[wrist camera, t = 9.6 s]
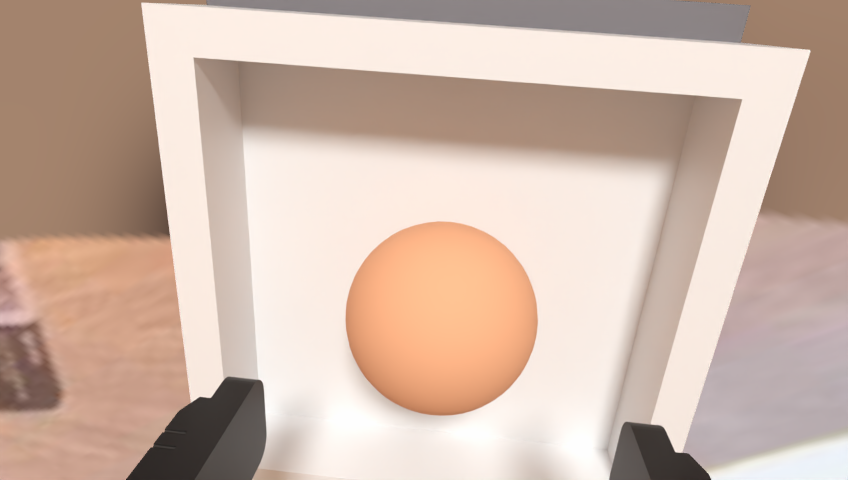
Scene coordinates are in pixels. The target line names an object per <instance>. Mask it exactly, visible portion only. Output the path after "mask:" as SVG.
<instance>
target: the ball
mask: <svg viewBox="0 0 848 480" xmlns="http://www.w3.org/2000/svg"><path fill="white" fill-rule="evenodd" d="M345 321H346V332H347V337H348V341H349V346H350V349H351V352H352V355H353V357H354V359H355V361H356V363H357V365H358V367H359V368H360V370H361V372H362V373H363V375H364V376H365V378H366V379H367V380H368V381H369V382H370V383H371V384H372V386H373V387H374V388H375V389H376V390H377V391H379V392H380V393H381V394H382V395H383V396H385V397H386V398H387V399H389V400H390V401H392V402H393V403H395V404H397V405H399V406H401V407H403V408H406V409H409V410H411V411H415V412H418V413H422V414H428V415H439V416H445V415H457V414H463V413H466V412H470V411H473V410H476V409H478V408H481V407H483V406H484V405H486V404H488V403H490V402H492V401H494V400H495V399H496V398H498V397H499V396H501V395H502V394H503V393H504V392H505V391H506V390H508V389H509V388H510V387H511V385H512V384H513V383H514V382H515V381H516V380H517V378H518V377H519V376H520V375H521V373H522V371H523V370H524V368H525V366H526V365H527V363H528V360H529V358H530V356H531V353H532V351H533V348H534V344H535V340H536V335H537V326H538V315H537V303H536V298H535V294H534V290H533V288H532V285H531V282H530V280H529V277H528V275H527V273H526V272H525V270H524V268H523V266H522V265H521V264H520V262H519V261H518V260H517V258H516V257H515V256H514V254H513V253H512V252H511V251H510V250H509V249H508V248H507V247H506V246H505V245H504V244H502V243H501V242H500V241H498V240H497V239H496V238H494V237H492V236H491V235H489V234H487V233H486V232H484V231H481V230H479V229H477V228H474V227H472V226H468V225H465V224H461V223H455V222H441V221H438V222H427V223H423V224H418V225H414V226H411V227H408V228H406V229H403V230H401V231H399V232H397V233H395V234H393V235H391V236H390V237H389V238H387V239H386V240H384V241H383V242H382V243H380V244H379V245H378V246H377V247H376V248H375V249H374V250H373V251H372V252H371V253H370V254H369V255H368V257H367V258H366V259H365V260H364V262H363V263H362V265H361V266H360V268H359V270H358V271H357V273H356V275H355V277H354V280H353V282H352V284H351V287H350V291H349V294H348V299H347V304H346V318H345Z"/></svg>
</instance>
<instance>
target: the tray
mask: <svg viewBox="0 0 848 480" xmlns="http://www.w3.org/2000/svg"><path fill="white" fill-rule="evenodd" d="M142 12H143V21H144V28H145V37H146V45H147V53H148V61H149V69H150V77H151V85H152V93H153V101H154V109H155V117H156V125H157V133H158V141H159V149H160V157H161V164H162V173H163V181H164V189H165V197H166V205H167V214H168V222H169V230H170V238H171V246H172V254H173V262H174V270H175V278H176V286H177V294H178V302H179V310H180V318H181V326H182V334H183V342H184V350H185V358H186V366H187V374H188V382H189V390H190V398H191V402H193V401H194V400H196V399H197V398H199V397H206V398H211V397H212V396H213V394H214V393H215V391H216V390H217V389H218V387H219V386H220V384H221V383H222V382H223V380H224V379H225V378H226V377H229V376H230V377H239V378H248V379H257V380H261V381H262V383H263V386H264V399H265V415H266V431H267V437H266V445H265V450H264V454H263V457H262V460H261V462H260V465H259V467H258V469H257V471H256V473H255V475H254V477H253V479H252V480H609V478H610V473H611V468H612V464H613V460H614V456H615V452H616V448H617V444H618V440H619V436H620V432H621V428H622V426H623V424H624V423H625V422H634V423H643V424H652V425H661V426H662V427H664V429H665V431H666V433H667V435H668V437H669V439H670V441H671V444H672V446H673V448H674V450H675V452H678V453H682V451H683V448H684V445H685V442H686V439H687V435H688V432H689V429H690V426H691V423H692V420H693V417H694V414H695V410H696V407H697V404H698V401H699V398H700V395H701V392H702V389H703V385H704V382H705V379H706V376H707V373H708V370H709V367H710V364H711V360H712V357H713V354H714V351H715V348H716V345H717V342H718V339H719V335H720V332H721V329H722V326H723V323H724V320H725V317H726V313H727V310H728V307H729V304H730V301H731V298H732V295H733V292H734V288H735V285H736V282H737V279H738V276H739V273H740V270H741V267H742V263H743V260H744V257H745V254H746V251H747V248H748V245H749V242H750V238H751V235H752V232H753V229H754V226H755V223H756V220H757V217H758V213H759V210H760V207H761V204H762V201H763V198H764V194H765V191H766V188H767V185H768V182H769V179H770V176H771V173H772V169H773V166H774V163H775V160H776V157H777V154H778V151H779V148H780V144H781V141H782V138H783V135H784V132H785V129H786V126H787V123H788V120H789V116H790V113H791V110H792V107H793V104H794V101H795V98H796V95H797V91H798V88H799V85H800V82H801V79H802V76H803V73H804V70H805V66H806V63H807V60H808V57H809V54H810V51H811V50H804V49H794V48H785V47H775V46H766V45H757V44H748V43H737V42H723V41H709V40H694V39H680V38H666V37H652V36H638V35H624V34H609V33H595V32H581V31H567V30H553V29H539V28H524V27H510V26H496V25H482V24H468V23H454V22H440V21H425V20H411V19H397V18H383V17H369V16H355V15H340V14H326V13H312V12H298V11H284V10H270V9H255V8H241V7H227V6H213V5H190V4H163V3H162V4H161V3H142ZM438 221H441V222H455V223H461V224H465V225H468V226H472V227H474V228H477V229H479V230H481V231H484V232H486V233H487V234H489V235H491V236H492V237H494V238H496V239H497V240H498V241H500V242H501V243H502V244H504V245H505V246H506V247H507V248H508V249H509V250H510V251H511V252H512V253H513V254H514V256H515V257H516V258H517V260H518V261H519V262H520V264H521V265H522V266H523V268H524V270H525V272H526V273H527V275H528V277H529V280H530V282H531V285H532V288H533V290H534V294H535V298H536V303H537V315H538V326H537V335H536V340H535V344H534V348H533V351H532V353H531V356H530V358H529V360H528V363H527V365H526V366H525V368H524V370H523V371H522V373H521V375H520V376H519V377H518V378H517V380H516V381H515V382H514V383H513V384H512V385H511V387H510V388H509V389H508V390H506V391H505V392H504V393H503V394H502V395H501V396H499V397H498V398H496V399H495V400H494V401H492V402H490V403H488V404H486V405H484V406H483V407H481V408H478V409H476V410H473V411H470V412H466V413H463V414H457V415H445V416H439V415H428V414H422V413H418V412H415V411H411V410H409V409H406V408H403V407H401V406H399V405H397V404H395V403H393V402H392V401H390V400H389V399H387V398H386V397H385V396H383V395H382V394H381V393H380V392H379V391H377V390H376V389H375V388H374V387H373V386H372V384H371V383H370V382H369V381H368V380H367V379H366V378H365V376H364V375H363V373H362V372H361V370H360V368H359V367H358V365H357V363H356V361H355V359H354V357H353V355H352V352H351V349H350V346H349V341H348V337H347V332H346V321H345V318H346V304H347V299H348V294H349V291H350V287H351V284H352V282H353V280H354V277H355V275H356V273H357V271H358V270H359V268H360V266H361V265H362V263H363V262H364V260H365V259H366V258H367V257H368V255H369V254H370V253H371V252H372V251H373V250H374V249H375V248H376V247H377V246H378V245H379V244H380V243H382V242H383V241H384V240H386V239H387V238H389V237H390V236H391V235H393V234H395V233H397V232H399V231H401V230H403V229H406V228H408V227H411V226H414V225H418V224H423V223H427V222H438Z"/></svg>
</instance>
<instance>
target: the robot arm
mask: <svg viewBox="0 0 848 480" xmlns="http://www.w3.org/2000/svg"><path fill="white" fill-rule="evenodd" d="M266 437H267V431H266V415H265V399H264V386H263V383H262V381H261V380H257V379H248V378H239V377H230V376H229V377H226V378H225V379H224V380H223V382H222V383H221V384H220V386H219V387H218V389H217V390H216V391H215V393H214V394H213V396H212V397H211V398H206V397H199V398H197V399H196V400H194V401H193V402H191V403H190V404H189V405H187V406H186V407H184V408H183V409H181V410H180V411H179V412H178V413H177V414H176V416H175V417H174V418H173V419H172V421H171V422H170V423H169V425H168V426H167V427H166V428H165V432H164V433H163V432H162V434H161V435H160V436H159V438H158V439H157V440H156V441H155V443H154V446H153V448H150V449H149V451H148V452H147V453H146V454H145V456H144V457H143V458H142V460H141V461H140V462H139V463H138V465H137V466H136V467H135V469H134V470H133V471H132V473H131V474H130V475H129V476H128V478H127V479H126V480H252V479H253V477H254V475H255V473H256V471H257V469H258V467H259V465H260V462H261V460H262V457H263V454H264V450H265V445H266ZM609 480H711V478H710V476H709V474H708V473H707V472H706V471H705V470H704V469H703V468H702V467H701V466H700V465H699V464H698V463H697V462H696V461H695V460H694V459H693V458H692V457H691V456H690V455H689V454H687V453H678V452H675V450H674V448H673V446H672V444H671V441H670V439H669V437H668V435H667V433H666V431H665V429H664V427H662V426H661V425H652V424H643V423H634V422H625V423H624V424H623V426H622V428H621V432H620V436H619V440H618V444H617V448H616V452H615V456H614V460H613V464H612V468H611V473H610V478H609Z"/></svg>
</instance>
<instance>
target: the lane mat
mask: <svg viewBox="0 0 848 480" xmlns="http://www.w3.org/2000/svg"><path fill="white" fill-rule="evenodd" d="M207 5H213V6H227V7H241V8H255V9H270V10H284V11H298V12H312V13H326V14H340V15H355V16H369V17H383V18H397V19H411V20H425V21H440V22H454V23H468V24H482V25H496V26H510V27H524V28H539V29H553V30H567V31H581V32H595V33H609V34H624V35H638V36H652V37H666V38H680V39H694V40H709V41H723V42H737V43H741V39H742V35H743V32H744V28H745V24H746V21H747V17H748V13H749V10H750V6H749V5H734V4H720V3H705V2H704V3H703V2H690V1H675V0H207Z"/></svg>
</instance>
